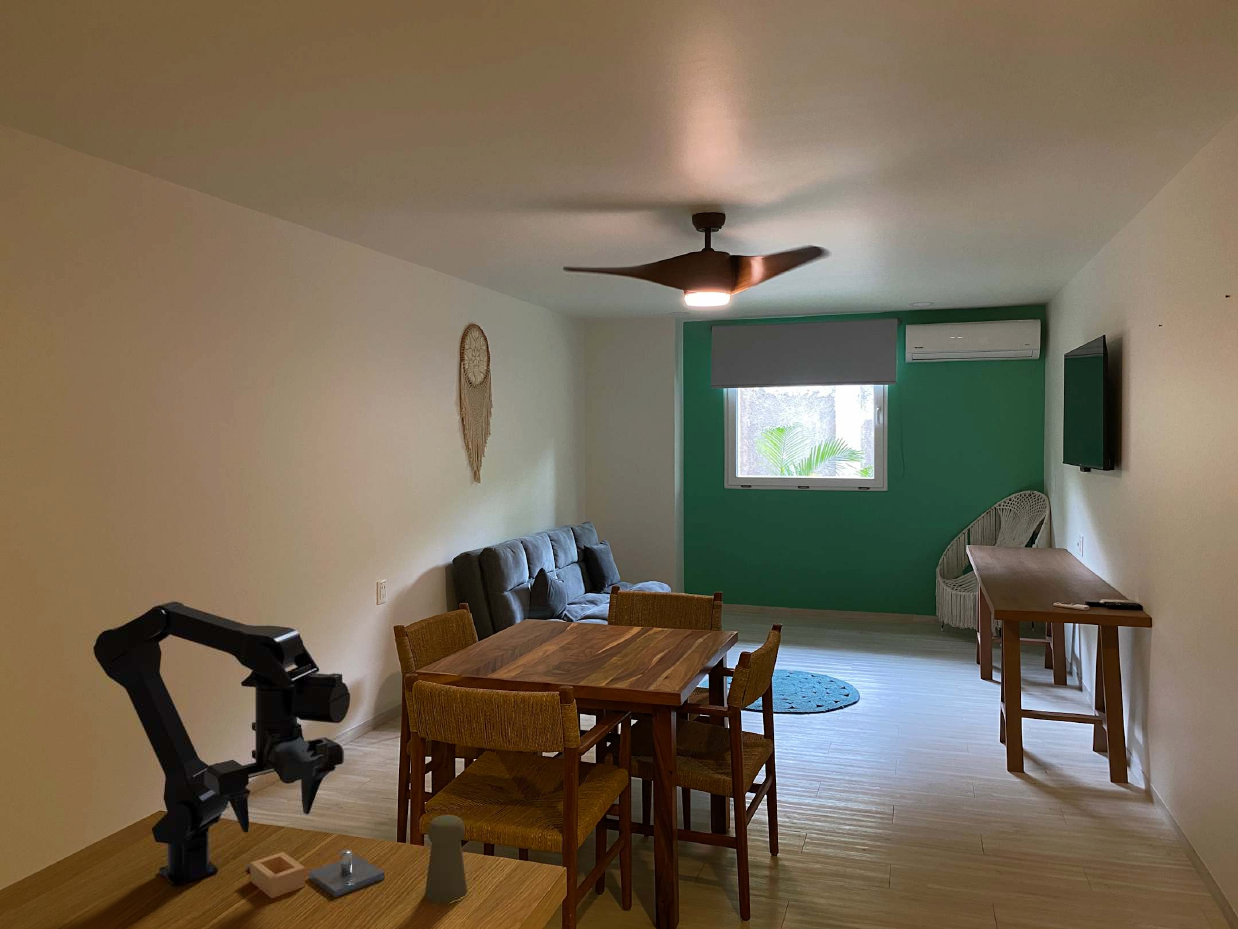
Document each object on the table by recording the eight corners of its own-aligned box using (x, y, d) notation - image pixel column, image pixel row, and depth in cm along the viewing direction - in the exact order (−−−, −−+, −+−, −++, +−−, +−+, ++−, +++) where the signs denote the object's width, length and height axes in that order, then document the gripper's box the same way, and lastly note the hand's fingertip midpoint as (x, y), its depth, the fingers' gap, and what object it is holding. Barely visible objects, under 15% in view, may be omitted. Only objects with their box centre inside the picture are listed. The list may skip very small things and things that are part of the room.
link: (250, 881, 138) (250, 862, 138) (283, 870, 141) (283, 852, 141) (271, 898, 133) (271, 879, 133) (305, 886, 136) (304, 867, 136)
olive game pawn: (458, 906, 131) (458, 829, 130) (417, 902, 132) (417, 825, 132) (473, 886, 137) (473, 811, 136) (434, 881, 138) (434, 808, 138)
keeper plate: (308, 878, 139) (308, 851, 139) (357, 860, 144) (357, 835, 144) (334, 897, 133) (334, 870, 133) (384, 878, 139) (384, 852, 139)
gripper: (235, 745, 124) (236, 861, 124) (362, 716, 137) (362, 821, 138) (202, 725, 132) (203, 835, 132) (325, 699, 145) (325, 799, 145)
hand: (276, 822), depth 137 cm, fingers open, 9 cm apart
